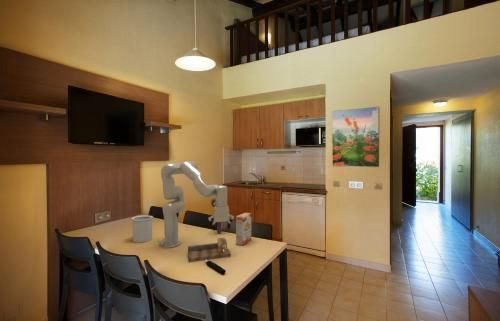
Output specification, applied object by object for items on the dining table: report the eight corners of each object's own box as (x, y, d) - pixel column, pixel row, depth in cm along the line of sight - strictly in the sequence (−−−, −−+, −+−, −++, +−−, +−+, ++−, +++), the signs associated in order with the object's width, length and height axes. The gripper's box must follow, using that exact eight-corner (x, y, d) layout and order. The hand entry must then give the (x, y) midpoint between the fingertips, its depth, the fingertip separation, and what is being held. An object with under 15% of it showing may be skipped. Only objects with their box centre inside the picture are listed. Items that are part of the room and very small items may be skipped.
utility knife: (201, 262, 142) (201, 257, 142) (207, 261, 144) (207, 256, 144) (222, 276, 126) (222, 270, 126) (228, 273, 128) (228, 268, 128)
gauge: (220, 254, 148) (220, 243, 148) (217, 248, 159) (217, 238, 159) (227, 253, 150) (227, 242, 150) (224, 247, 160) (224, 237, 160)
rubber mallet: (216, 235, 191) (215, 199, 191) (210, 233, 196) (210, 198, 196) (227, 232, 200) (227, 197, 200) (222, 230, 205) (221, 196, 205)
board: (188, 262, 142) (188, 253, 142) (187, 253, 156) (187, 245, 156) (230, 256, 150) (230, 248, 150) (226, 248, 163) (226, 241, 163)
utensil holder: (142, 235, 193) (142, 214, 193) (157, 237, 188) (156, 215, 188) (127, 241, 180) (127, 218, 179) (142, 244, 174) (142, 220, 174)
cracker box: (243, 246, 168) (242, 217, 168) (235, 244, 170) (235, 216, 170) (251, 240, 180) (251, 212, 180) (245, 238, 183) (244, 212, 183)
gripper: (209, 205, 150) (208, 232, 151) (235, 204, 155) (235, 230, 156) (207, 203, 158) (207, 229, 158) (232, 202, 163) (232, 227, 163)
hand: (221, 229), depth 157 cm, fingers open, 9 cm apart
